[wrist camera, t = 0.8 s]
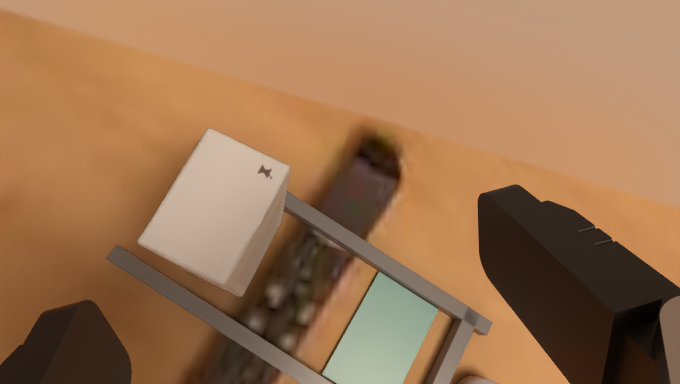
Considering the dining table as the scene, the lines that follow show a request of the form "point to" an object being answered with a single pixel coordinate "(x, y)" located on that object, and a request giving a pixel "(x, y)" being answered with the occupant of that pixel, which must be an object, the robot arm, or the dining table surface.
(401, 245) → the dining table surface
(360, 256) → the guide channel
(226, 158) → the skincare box
